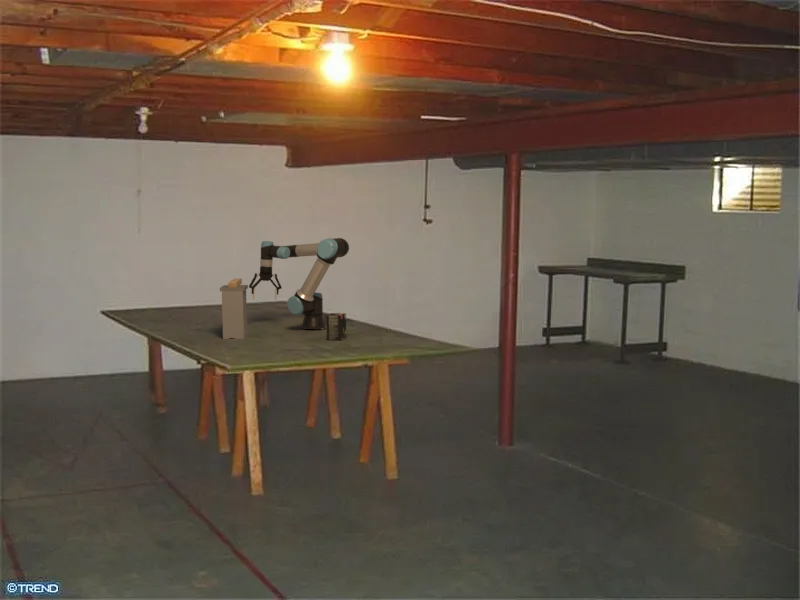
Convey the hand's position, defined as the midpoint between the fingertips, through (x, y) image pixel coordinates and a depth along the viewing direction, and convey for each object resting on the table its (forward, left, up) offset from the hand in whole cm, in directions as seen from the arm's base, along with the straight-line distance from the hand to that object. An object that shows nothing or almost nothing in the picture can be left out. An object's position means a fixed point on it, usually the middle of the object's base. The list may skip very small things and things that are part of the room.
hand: (264, 299), depth 563 cm
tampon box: (-45, +49, -19) cm, 70 cm away
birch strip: (+15, +28, +12) cm, 34 cm away
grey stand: (+15, +34, -18) cm, 42 cm away
